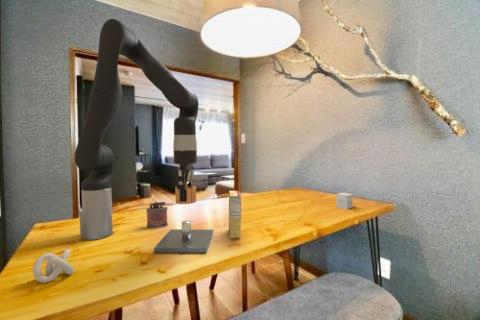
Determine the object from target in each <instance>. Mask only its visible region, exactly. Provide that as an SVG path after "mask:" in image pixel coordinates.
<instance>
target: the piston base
mask: <svg viewBox="0 0 480 320" xmlns="http://www.w3.org/2000/svg"><path fill="white" fill-rule="evenodd" d="M213 235H214V229H192V221H191V220H183V221H181V229H170V230H169V231H168V232H167V233H166V234H165V235H164V236H163V238H162V239H160V241H159V242H158V243H157V244H156V245H155V246H154V247H153V253H154V254H207V253H208V250H209V246H210V245H211V241H212V239H213Z"/></svg>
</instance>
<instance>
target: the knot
mask: <svg viewBox="0 0 480 320" xmlns="http://www.w3.org/2000/svg"><path fill="white" fill-rule="evenodd" d="M70 254H71V250H70V249H69V248H67V249H64V250H63V252H62V254H61V256H60V257H59V256H58V255H57V254H54V253H52V252H51V253H50V252H49V253H43V254H41V255H40V256H39V257H37V259H35V261H34V263H33V266H32V274H33V277H34V279H35V280H36V281H37V282H38V283H43V284H45V283H46V284H47V282H48V283H51V282H53V281H54V280H55V279H56V278H57V277H58V276H59V275H60V273H61V272H62V273H63V274H65V275H72V274H73V273H74V270H75V269H74V267H73V265H72V264H70V263H69V262H68V261H67V259H68V258H69V255H70ZM45 261H46V263H45V269H44V270H45V271H44V272H45V274H46V275H44V273H43V272H42V264H43V262H45ZM50 281H51V282H50Z"/></svg>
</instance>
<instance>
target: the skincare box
mask: <svg viewBox="0 0 480 320" xmlns="http://www.w3.org/2000/svg"><path fill="white" fill-rule="evenodd" d="M353 198H354V197H353V193H346V192H339V193H336V199H335V200H336V206H335V207H336V208H339V209H344V210H350V209H352V208H353V201H354V200H353Z"/></svg>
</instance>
